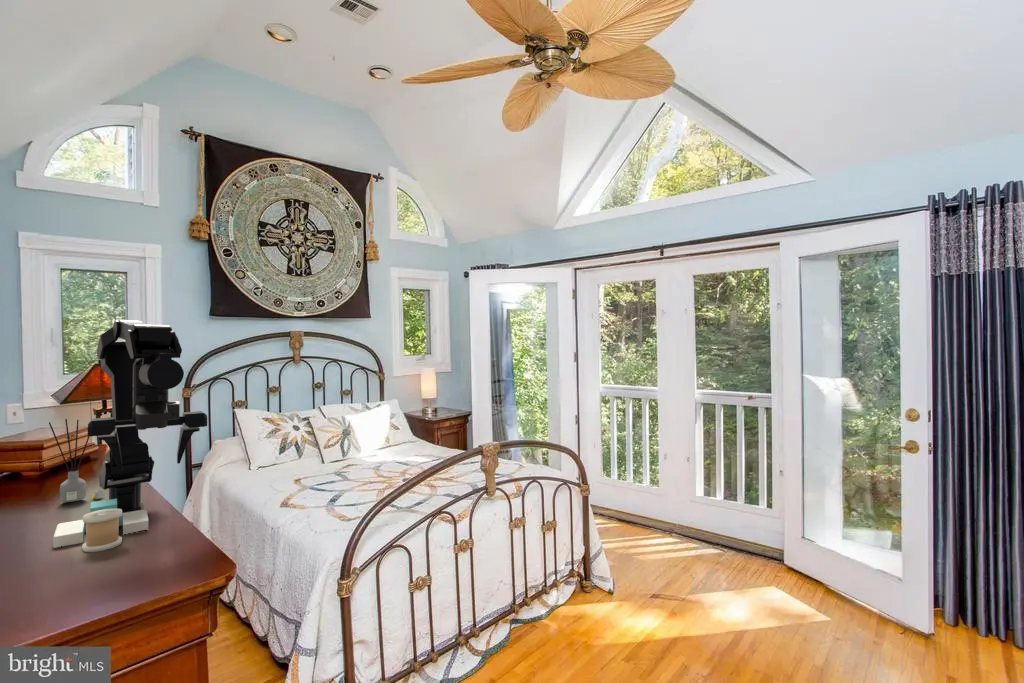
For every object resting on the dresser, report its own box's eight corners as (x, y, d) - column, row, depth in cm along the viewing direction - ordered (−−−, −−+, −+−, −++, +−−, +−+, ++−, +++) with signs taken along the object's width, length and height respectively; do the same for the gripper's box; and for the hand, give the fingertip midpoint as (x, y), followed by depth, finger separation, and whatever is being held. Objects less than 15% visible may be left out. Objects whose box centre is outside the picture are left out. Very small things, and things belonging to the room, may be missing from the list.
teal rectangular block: (90, 532, 98) (91, 502, 98) (116, 528, 100) (116, 498, 100) (89, 540, 94) (90, 508, 94) (116, 535, 96) (117, 504, 97)
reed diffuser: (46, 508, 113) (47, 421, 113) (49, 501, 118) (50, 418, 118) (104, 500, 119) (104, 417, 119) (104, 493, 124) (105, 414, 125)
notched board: (58, 533, 97) (58, 523, 97) (146, 518, 106) (146, 509, 106) (53, 548, 90) (53, 537, 90) (148, 530, 99) (148, 520, 99)
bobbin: (83, 545, 91) (83, 512, 91) (121, 537, 95) (122, 506, 95) (81, 554, 87) (81, 520, 87) (121, 546, 90) (122, 513, 91)
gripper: (86, 392, 85) (85, 483, 85) (210, 387, 97) (210, 466, 97) (90, 389, 94) (89, 471, 94) (204, 384, 106) (203, 457, 105)
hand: (150, 466), depth 97 cm, fingers open, 9 cm apart
